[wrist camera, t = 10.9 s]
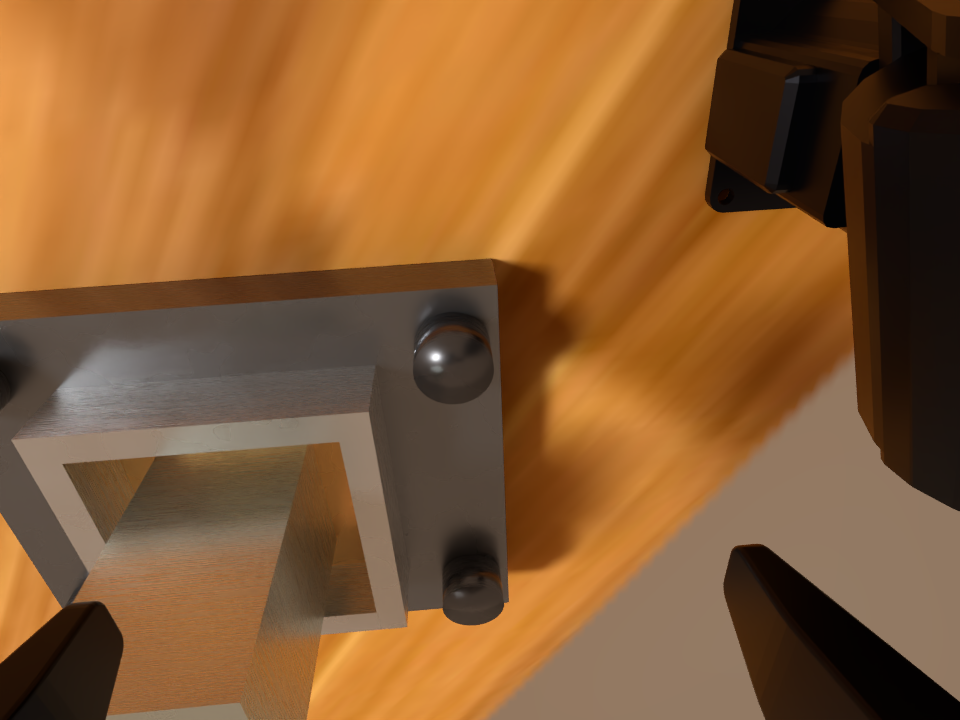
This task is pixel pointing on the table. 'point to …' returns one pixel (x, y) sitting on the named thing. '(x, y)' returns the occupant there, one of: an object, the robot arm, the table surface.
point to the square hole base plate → (272, 419)
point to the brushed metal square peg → (219, 586)
